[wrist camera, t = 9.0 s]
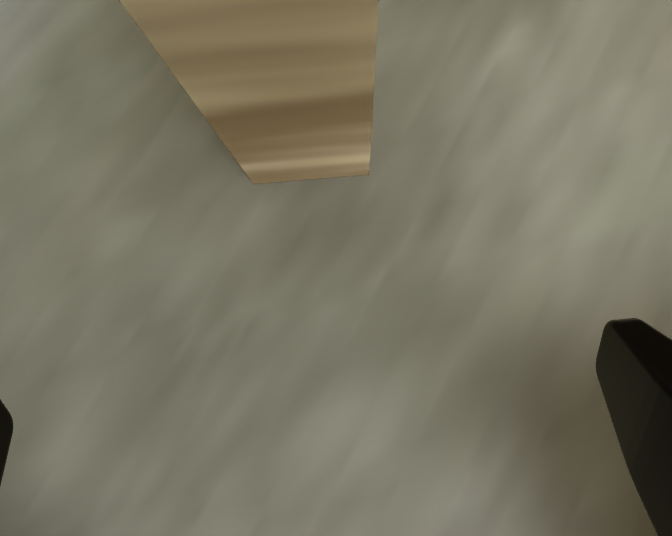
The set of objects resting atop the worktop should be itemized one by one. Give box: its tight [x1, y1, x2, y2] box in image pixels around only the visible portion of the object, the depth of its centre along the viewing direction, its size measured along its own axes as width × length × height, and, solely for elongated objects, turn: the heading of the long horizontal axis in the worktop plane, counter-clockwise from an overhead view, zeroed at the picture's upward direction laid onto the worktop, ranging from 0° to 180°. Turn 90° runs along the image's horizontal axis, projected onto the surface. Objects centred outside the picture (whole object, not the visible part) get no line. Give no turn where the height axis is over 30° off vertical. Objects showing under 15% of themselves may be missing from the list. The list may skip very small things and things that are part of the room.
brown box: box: [119, 0, 378, 184], centre depth 12 cm, size 4×4×12 cm
